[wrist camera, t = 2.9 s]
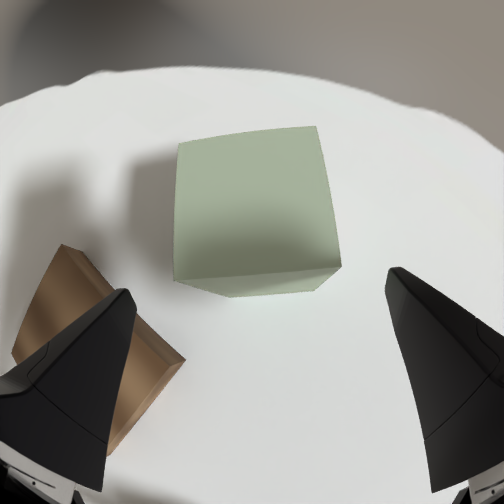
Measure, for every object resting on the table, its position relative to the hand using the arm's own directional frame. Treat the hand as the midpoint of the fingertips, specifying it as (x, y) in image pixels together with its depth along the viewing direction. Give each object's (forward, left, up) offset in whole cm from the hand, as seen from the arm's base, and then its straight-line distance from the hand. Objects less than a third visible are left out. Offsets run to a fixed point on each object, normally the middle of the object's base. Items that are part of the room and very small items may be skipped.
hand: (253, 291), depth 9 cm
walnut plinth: (-14, +9, -10) cm, 20 cm away
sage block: (+3, +2, -11) cm, 11 cm away
